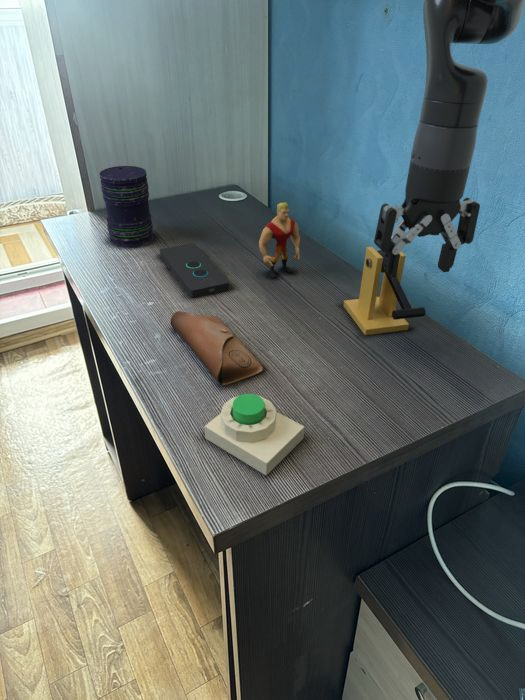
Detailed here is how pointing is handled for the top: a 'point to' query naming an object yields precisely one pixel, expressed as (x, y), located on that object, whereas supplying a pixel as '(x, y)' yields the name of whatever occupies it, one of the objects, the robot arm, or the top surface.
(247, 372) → the sunglasses case
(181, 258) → the smart home device
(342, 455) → the top surface
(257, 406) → the light button
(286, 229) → the action figure
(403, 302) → the switch lever
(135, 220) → the storage jar
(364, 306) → the lever bracket
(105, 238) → the top surface
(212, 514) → the top surface
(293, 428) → the switch box
